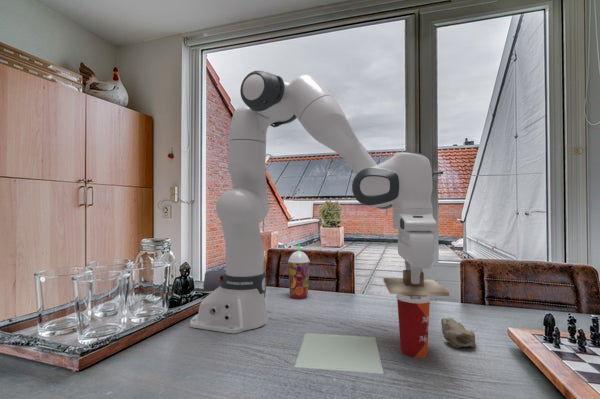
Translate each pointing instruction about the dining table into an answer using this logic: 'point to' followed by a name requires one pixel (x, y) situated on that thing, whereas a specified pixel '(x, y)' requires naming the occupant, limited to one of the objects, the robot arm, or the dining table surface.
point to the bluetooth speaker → (212, 279)
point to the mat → (339, 353)
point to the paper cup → (413, 324)
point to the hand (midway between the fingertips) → (412, 281)
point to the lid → (414, 286)
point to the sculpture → (457, 334)
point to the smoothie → (298, 274)
